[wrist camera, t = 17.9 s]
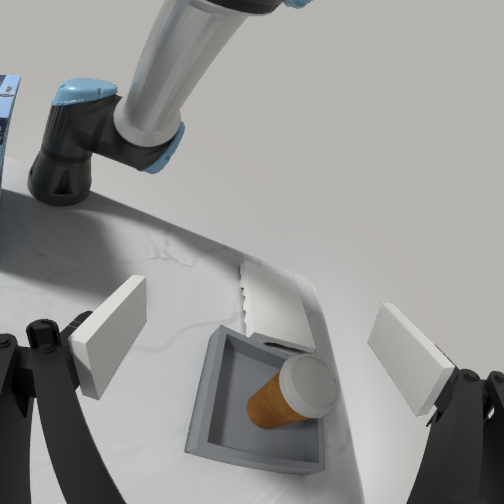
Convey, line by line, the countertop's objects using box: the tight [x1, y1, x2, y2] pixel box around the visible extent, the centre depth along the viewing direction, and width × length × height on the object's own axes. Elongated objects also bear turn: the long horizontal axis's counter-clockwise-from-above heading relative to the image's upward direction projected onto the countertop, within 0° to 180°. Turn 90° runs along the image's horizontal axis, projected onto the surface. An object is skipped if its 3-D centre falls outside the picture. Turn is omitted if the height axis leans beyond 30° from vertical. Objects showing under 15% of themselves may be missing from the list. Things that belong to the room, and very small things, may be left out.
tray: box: [184, 325, 325, 475], centre depth 37 cm, size 20×20×4 cm
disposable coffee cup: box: [247, 353, 340, 429], centre depth 35 cm, size 10×10×12 cm
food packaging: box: [240, 259, 316, 353], centre depth 58 cm, size 15×3×20 cm
